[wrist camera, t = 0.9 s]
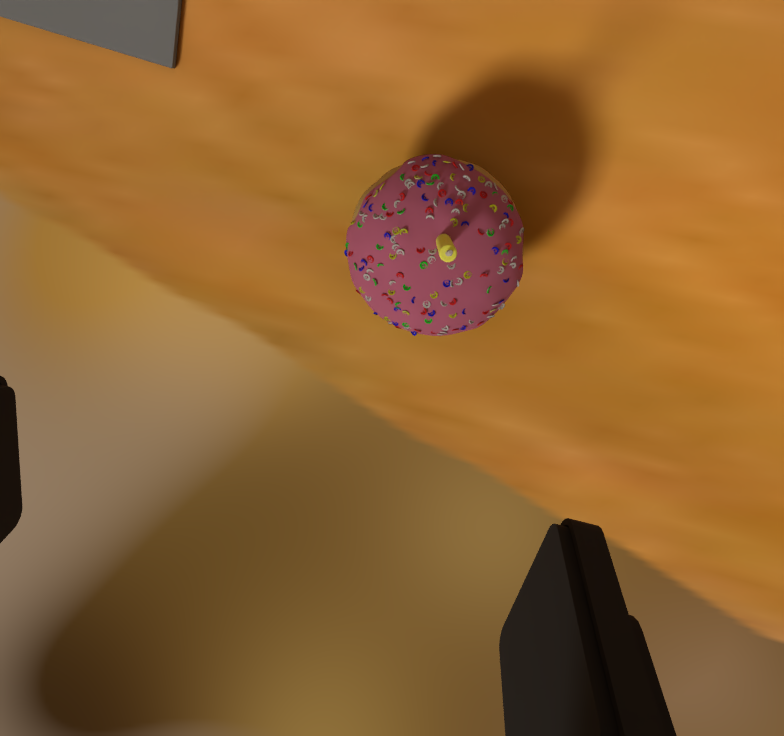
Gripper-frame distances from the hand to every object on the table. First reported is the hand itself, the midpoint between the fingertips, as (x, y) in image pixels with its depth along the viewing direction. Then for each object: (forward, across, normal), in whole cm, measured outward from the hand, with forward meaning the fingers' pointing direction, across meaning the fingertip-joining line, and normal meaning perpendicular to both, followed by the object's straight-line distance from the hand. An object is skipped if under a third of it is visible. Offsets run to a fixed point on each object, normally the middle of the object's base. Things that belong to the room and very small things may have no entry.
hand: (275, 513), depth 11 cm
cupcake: (+25, -2, +1) cm, 25 cm away
